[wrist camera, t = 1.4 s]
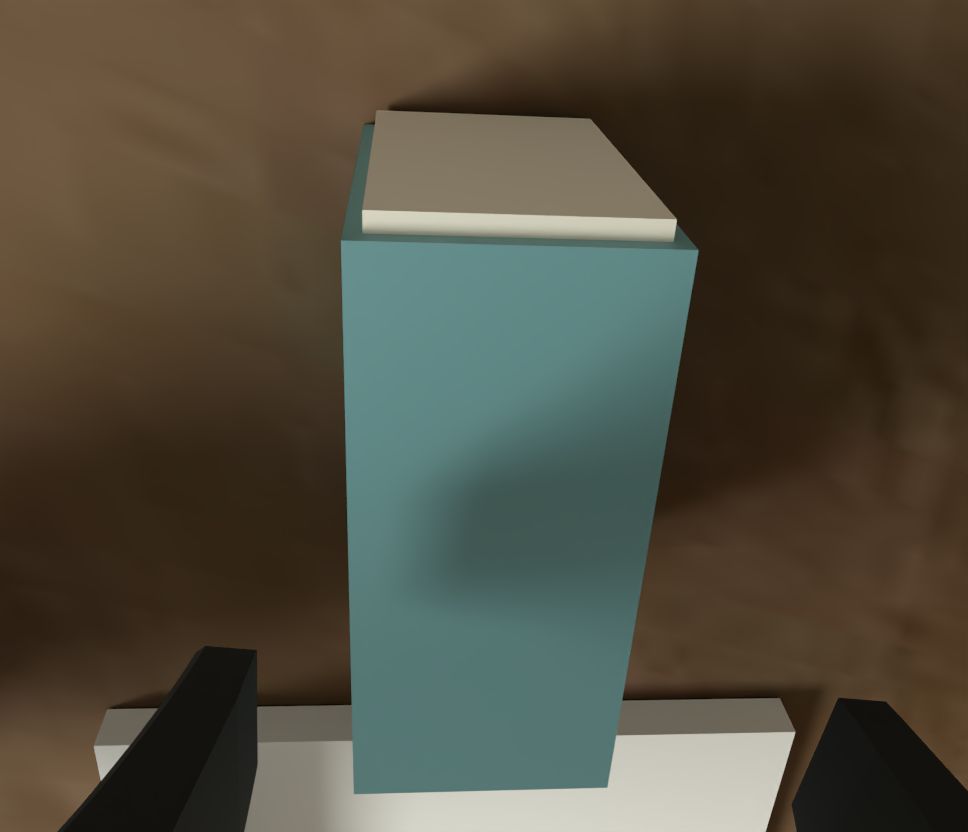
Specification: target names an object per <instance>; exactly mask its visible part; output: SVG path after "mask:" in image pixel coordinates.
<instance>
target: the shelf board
mask: <svg viewBox="0 0 968 832" xmlns="http://www.w3.org/2000/svg"><path fill="white" fill-rule="evenodd" d="M157 709H158V708H146V709H107V712H106V714H105V717H104V720H103V722H102V725H101V728H100V730H99V733H98V736H97V738H96V741H95V744H94V750H95V755H96V759H97V764H98V769H99V773H100V778H101V781H102V779H103V778H104V777H105V776H106V774H107V773H108V772H109V771H110V769H111V768H112V767H113V766H114V764H115V763H116V762H117V761H118V760H119V758H120V757H121V756H122V755H123V753H124V752H125V751H126V750H127V748H128V747H129V746H130V745H131V743H132V742H133V741H134V740H135V738H136V737H137V736H138V734H139V733H140V732H141V730H142V729H143V728H144V726H145V725H146V724H147V722H148V721H149V720H150V718H151V717H152V716H153V714H154V713H155V712H156V710H157ZM794 736H795V730H794V727H793V725H792V723H791V721H790V719H789V717H788V715H787V712H786V710H785V708H784V706H783V704H782V702H781V700H780V698H751V699H691V700H630V701H622V705H621V710H620V716H619V722H618V728H617V734H616V740H615V746H614V752H613V757H612V763H611V769H610V775H609V781H608V787H607V788H576V789H538V790H499V791H461V792H422V793H384V794H354V783H353V740H352V705H328V706H267V707H257V741H258V766H257V771H256V776H255V781H254V786H253V791H252V796H251V801H250V806H249V811H248V816H247V821H246V826H245V831H244V832H766V829H767V825H768V822H769V819H770V816H771V812H772V809H773V806H774V802H775V799H776V796H777V792H778V789H779V786H780V782H781V779H782V776H783V772H784V769H785V766H786V762H787V759H788V756H789V752H790V749H791V746H792V742H793V739H794Z"/></svg>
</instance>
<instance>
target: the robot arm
mask: <svg viewBox="0 0 968 832" xmlns="http://www.w3.org/2000/svg"><path fill="white" fill-rule="evenodd" d="M257 766H258V741H257V650H247V649H235V648H223V647H210V646H205V647H203V648H202V649H201V650H199V651H198V652H196V654H195V655H194V657H193V658H192V660H191V661H190V663H189V664H188V666H187V668H186V669H185V671H184V672H183V674H182V675H181V676H180V678H179V679H178V681H177V682H176V684H175V685H174V687H173V688H172V689H171V691H170V692H169V694H168V695H167V697H166V698H165V699H164V701H163V702H162V703H161V705H160V706H159V708H158V709H157V710H156V712H155V713H154V714H153V716H152V717H151V718H150V720H149V721H148V722H147V724H146V725H145V726H144V728H143V729H142V730H141V732H140V733H139V734H138V736H137V737H136V738H135V740H134V741H133V742H132V743H131V745H130V746H129V747H128V748H127V750H126V751H125V752H124V753H123V755H122V756H121V757H120V758H119V760H118V761H117V762H116V763H115V764H114V766H113V767H112V768H111V769H110V771H109V772H108V773H107V774H106V776H105V777H104V778H103V779H102V781H101V782H100V783H99V784H98V786H97V787H96V788H95V789H94V791H93V792H92V793H91V794H90V795H89V796H88V798H87V799H86V800H85V801H84V802H83V804H82V805H81V806H80V807H79V808H78V809H77V810H76V812H75V813H74V814H73V815H72V816H71V817H70V818H69V819H68V821H67V822H66V823H65V824H64V825H63V826H62V827H61V828H60V830H59V831H58V832H244V831H245V826H246V821H247V816H248V811H249V806H250V801H251V796H252V791H253V786H254V781H255V776H256V771H257ZM792 808H793V814H794V819H795V824H796V829H797V832H968V791H967V790H966V789H965V788H964V787H963V785H962V784H961V783H960V782H959V781H958V780H957V779H956V778H955V777H954V776H953V774H952V773H951V772H950V771H949V770H948V769H947V768H946V767H945V766H944V764H943V763H942V762H941V761H940V760H939V759H938V758H937V757H936V756H935V754H934V753H933V752H932V751H931V750H930V749H929V748H928V747H927V746H926V745H925V743H924V742H923V741H922V740H921V739H920V738H919V737H918V736H917V735H916V733H915V732H914V731H913V730H912V729H911V728H910V727H909V726H908V725H907V724H906V723H905V722H904V720H903V719H902V718H901V717H900V716H899V715H898V714H897V713H896V712H895V711H894V710H893V709H892V708H891V707H890V706H889V705H888V704H887V702H883V701H871V700H859V699H846V698H838V700H837V702H836V705H835V707H834V709H833V711H832V714H831V716H830V718H829V721H828V723H827V725H826V727H825V730H824V732H823V734H822V736H821V739H820V741H819V743H818V746H817V748H816V750H815V752H814V755H813V757H812V759H811V762H810V764H809V766H808V768H807V771H806V773H805V775H804V777H803V780H802V782H801V784H800V787H799V789H798V791H797V793H796V796H795V798H794V800H793V803H792Z"/></svg>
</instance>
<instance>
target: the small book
mask: <svg viewBox="0 0 968 832" xmlns="http://www.w3.org/2000/svg"><path fill="white" fill-rule="evenodd" d="M676 223H677V219H676V218H675V216H674V215H673V214H672V213H671V212H670V211H669V209H668V208H667V207H666V206H665V205H664V204H663V203H662V201H661V200H660V199H659V198H658V197H657V196H656V194H655V193H654V192H653V191H652V190H651V189H650V187H649V186H648V185H647V184H646V183H645V182H644V180H643V179H642V178H641V177H640V176H639V175H638V173H637V172H636V171H635V170H634V169H633V168H632V167H631V165H630V164H629V163H628V162H627V161H626V160H625V158H624V157H623V156H622V155H621V154H620V153H619V151H618V150H617V149H616V148H615V147H614V146H613V144H612V143H611V142H610V141H609V140H608V139H607V137H606V136H605V135H604V134H603V133H602V132H601V131H600V129H599V128H598V127H597V126H596V125H595V124H594V122H593V121H592V120H591V119H585V118H559V117H534V116H509V115H483V114H458V113H433V112H408V111H382V110H377V112H376V119H375V124H364V126H363V131H362V136H361V141H360V146H359V151H358V156H357V161H356V166H355V172H354V177H353V182H352V187H351V192H350V197H349V202H348V207H347V212H346V217H345V222H344V227H343V233H342V238H341V265H342V308H343V351H344V394H345V437H346V480H347V524H348V567H349V610H350V653H351V696H352V740H353V783H354V794H384V793H422V792H461V791H499V790H538V789H576V788H607V787H608V781H609V775H610V769H611V763H612V757H613V752H614V746H615V740H616V734H617V728H618V722H619V716H620V710H621V705H622V699H623V693H624V687H625V681H626V675H627V669H628V663H629V658H630V652H631V646H632V640H633V634H634V628H635V622H636V616H637V610H638V605H639V599H640V593H641V587H642V581H643V575H644V569H645V563H646V558H647V552H648V546H649V540H650V534H651V528H652V522H653V516H654V510H655V505H656V499H657V493H658V487H659V481H660V475H661V469H662V463H663V458H664V452H665V446H666V440H667V434H668V428H669V422H670V416H671V410H672V405H673V399H674V393H675V387H676V381H677V375H678V369H679V363H680V358H681V352H682V346H683V340H684V334H685V328H686V322H687V316H688V311H689V305H690V299H691V293H692V287H693V281H694V275H695V269H696V263H697V258H698V252H699V250H698V249H697V247H696V246H695V245H694V244H693V243H692V242H691V240H690V239H689V238H688V237H687V236H686V234H685V233H684V232H683V231H682V230H681V229H680V227H679V226H678V225H677V224H676Z"/></svg>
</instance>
